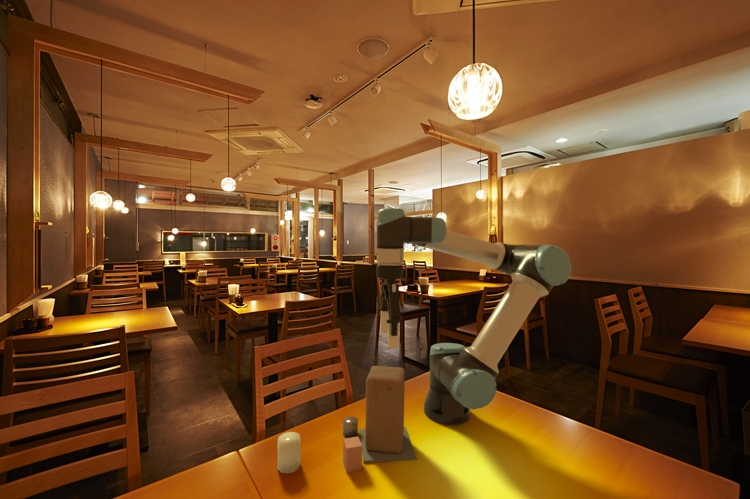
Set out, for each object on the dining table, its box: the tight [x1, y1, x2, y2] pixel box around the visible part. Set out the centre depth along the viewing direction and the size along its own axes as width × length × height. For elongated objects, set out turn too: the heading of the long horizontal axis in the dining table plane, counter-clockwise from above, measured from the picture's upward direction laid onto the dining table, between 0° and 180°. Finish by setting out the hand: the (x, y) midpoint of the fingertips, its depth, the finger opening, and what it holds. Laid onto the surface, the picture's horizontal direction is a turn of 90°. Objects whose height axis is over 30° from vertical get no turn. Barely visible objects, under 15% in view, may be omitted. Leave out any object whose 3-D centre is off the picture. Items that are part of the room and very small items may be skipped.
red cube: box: [342, 436, 363, 473], centre depth 81 cm, size 4×4×6 cm
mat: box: [359, 426, 418, 464], centre depth 90 cm, size 14×14×1 cm
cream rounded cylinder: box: [276, 431, 301, 475], centre depth 81 cm, size 6×6×7 cm
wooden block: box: [364, 365, 406, 454], centre depth 90 cm, size 10×10×20 cm
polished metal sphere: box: [342, 416, 359, 439], centre depth 95 cm, size 4×4×4 cm
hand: (388, 339), depth 90 cm, fingers open, 13 cm apart
